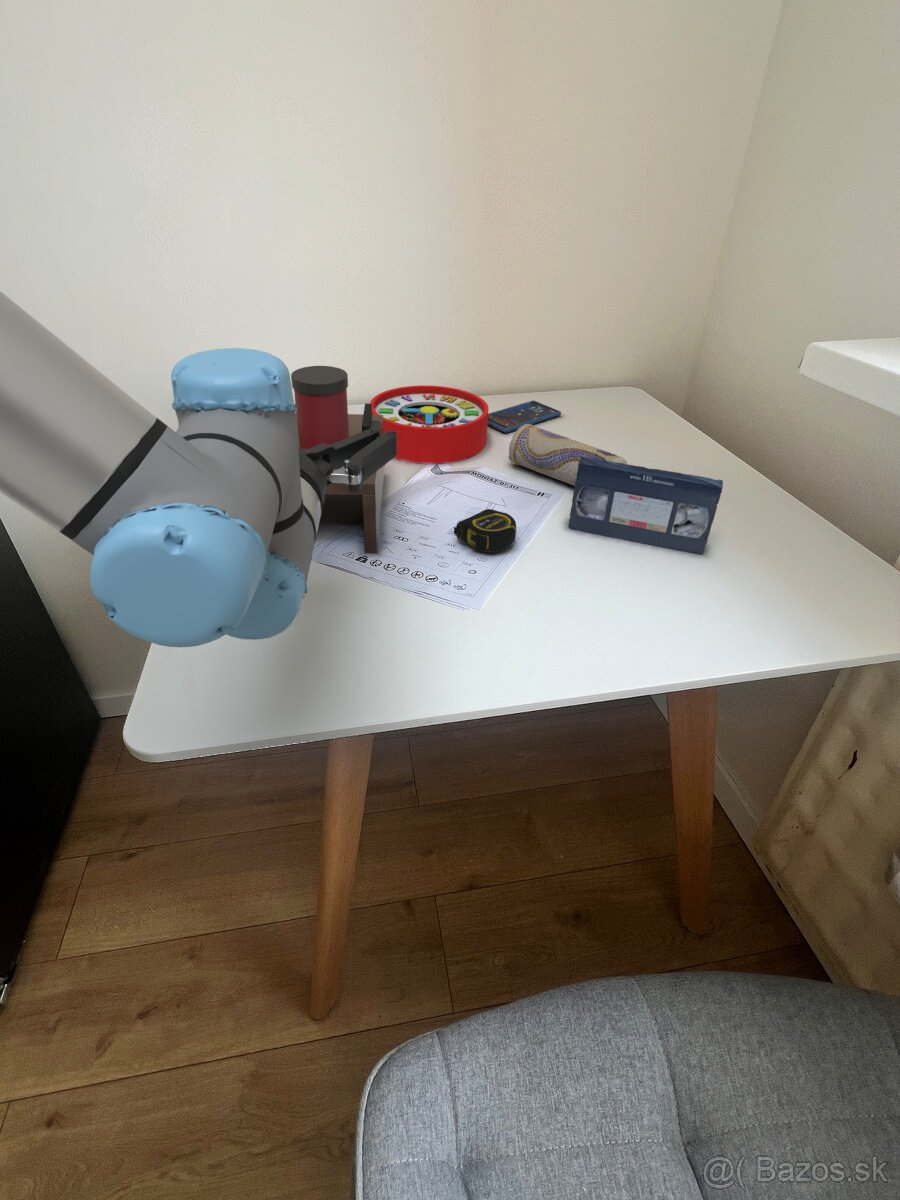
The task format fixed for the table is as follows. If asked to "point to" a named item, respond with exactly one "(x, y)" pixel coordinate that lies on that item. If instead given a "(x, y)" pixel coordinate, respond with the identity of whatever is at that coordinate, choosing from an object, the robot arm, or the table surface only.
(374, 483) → the shelf
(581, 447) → the decorative bottle
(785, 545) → the table surface
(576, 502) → the vhs cassette tape
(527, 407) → the smartphone
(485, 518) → the tape measure
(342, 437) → the canister
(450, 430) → the toy clock
